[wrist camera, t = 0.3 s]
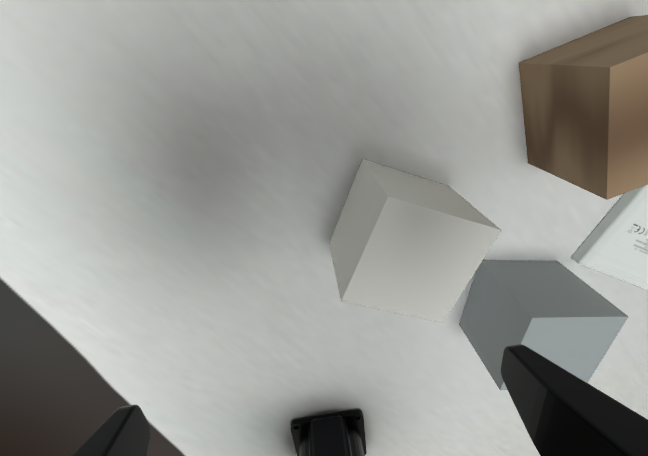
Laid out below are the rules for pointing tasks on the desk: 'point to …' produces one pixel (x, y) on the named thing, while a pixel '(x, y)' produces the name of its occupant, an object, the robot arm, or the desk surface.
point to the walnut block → (591, 109)
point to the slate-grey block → (538, 316)
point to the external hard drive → (620, 241)
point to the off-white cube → (407, 243)
